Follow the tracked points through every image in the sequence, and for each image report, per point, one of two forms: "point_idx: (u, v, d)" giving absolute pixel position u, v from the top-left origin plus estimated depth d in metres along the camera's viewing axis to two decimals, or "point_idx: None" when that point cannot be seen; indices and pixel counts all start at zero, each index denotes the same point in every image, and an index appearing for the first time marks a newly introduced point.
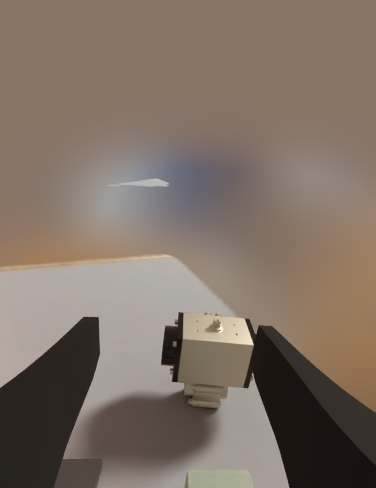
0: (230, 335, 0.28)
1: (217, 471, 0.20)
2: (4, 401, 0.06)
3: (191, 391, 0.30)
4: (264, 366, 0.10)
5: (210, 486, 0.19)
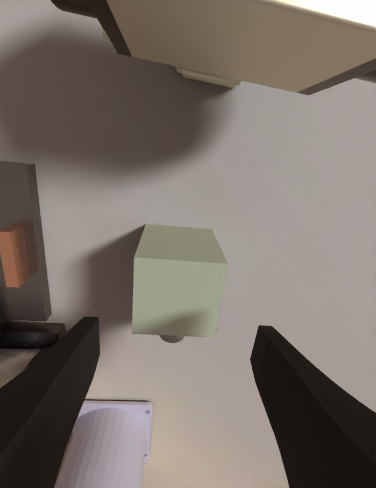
0: None
1: (179, 258, 0.13)
2: (4, 401, 0.06)
3: None
4: (264, 366, 0.10)
5: (164, 276, 0.13)
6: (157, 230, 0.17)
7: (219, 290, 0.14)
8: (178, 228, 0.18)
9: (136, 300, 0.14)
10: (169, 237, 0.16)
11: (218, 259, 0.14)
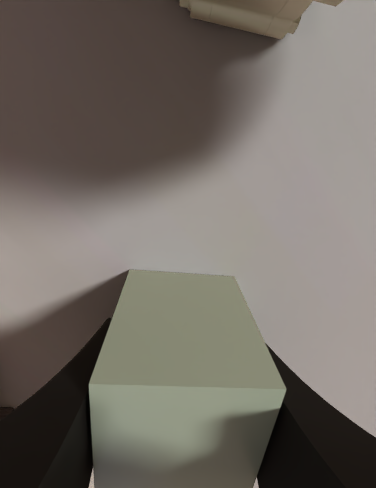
0: None
1: (186, 379, 0.06)
2: (48, 402, 0.06)
3: None
4: None
5: (155, 414, 0.07)
6: (147, 286, 0.10)
7: (265, 431, 0.07)
8: (181, 278, 0.11)
9: (99, 452, 0.07)
10: (167, 303, 0.09)
11: (264, 372, 0.07)
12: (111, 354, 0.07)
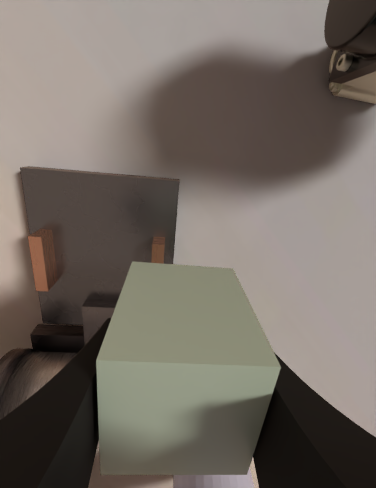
0: None
1: (187, 358, 0.07)
2: (47, 401, 0.06)
3: None
4: None
5: (158, 390, 0.07)
6: (149, 276, 0.11)
7: (261, 408, 0.07)
8: (182, 269, 0.12)
9: (105, 428, 0.07)
10: (168, 291, 0.10)
11: (260, 352, 0.07)
12: (116, 335, 0.07)
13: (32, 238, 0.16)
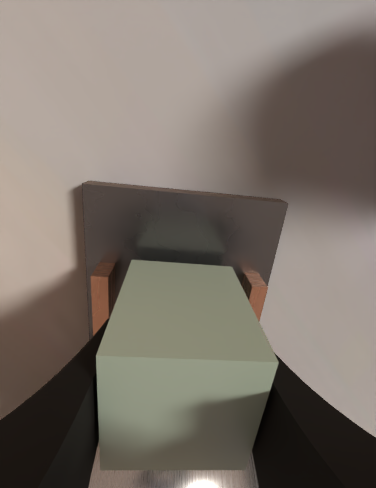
0: None
1: (186, 353, 0.07)
2: (48, 401, 0.06)
3: None
4: None
5: (157, 385, 0.07)
6: (148, 274, 0.11)
7: (259, 404, 0.08)
8: (181, 267, 0.12)
9: (105, 423, 0.07)
10: (168, 289, 0.10)
11: (258, 348, 0.07)
12: (116, 331, 0.07)
13: (96, 278, 0.12)
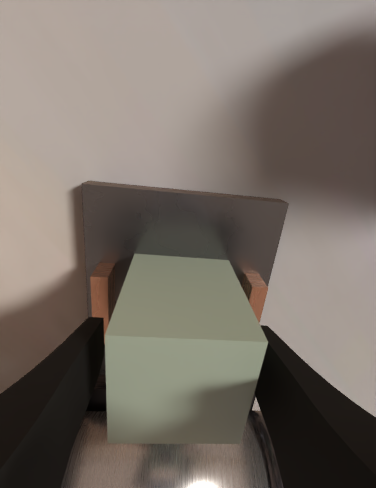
0: None
1: (185, 334, 0.08)
2: (13, 401, 0.06)
3: None
4: None
5: (159, 363, 0.08)
6: (150, 267, 0.12)
7: (251, 381, 0.08)
8: (181, 260, 0.13)
9: (112, 398, 0.08)
10: (168, 279, 0.11)
11: (250, 330, 0.08)
12: (122, 315, 0.08)
13: (96, 279, 0.12)
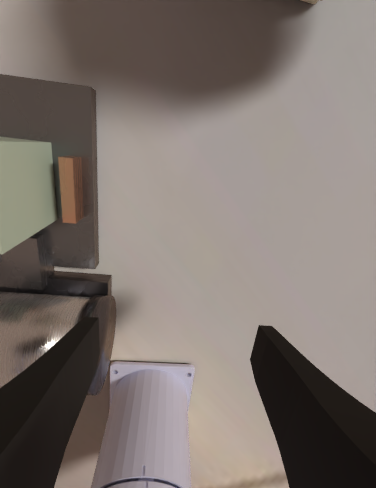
0: None
1: None
2: (4, 401, 0.06)
3: None
4: (264, 366, 0.10)
5: None
6: None
7: None
8: (2, 137, 0.15)
9: None
10: None
11: None
12: None
13: None
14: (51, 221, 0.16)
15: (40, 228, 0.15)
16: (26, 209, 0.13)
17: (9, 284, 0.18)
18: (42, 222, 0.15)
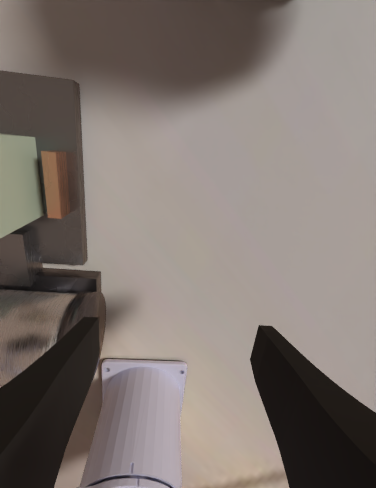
0: None
1: None
2: (4, 401, 0.06)
3: None
4: (264, 366, 0.10)
5: None
6: None
7: None
8: None
9: None
10: None
11: None
12: None
13: None
14: (37, 217, 0.16)
15: (24, 223, 0.15)
16: (7, 203, 0.13)
17: None
18: (26, 217, 0.15)
